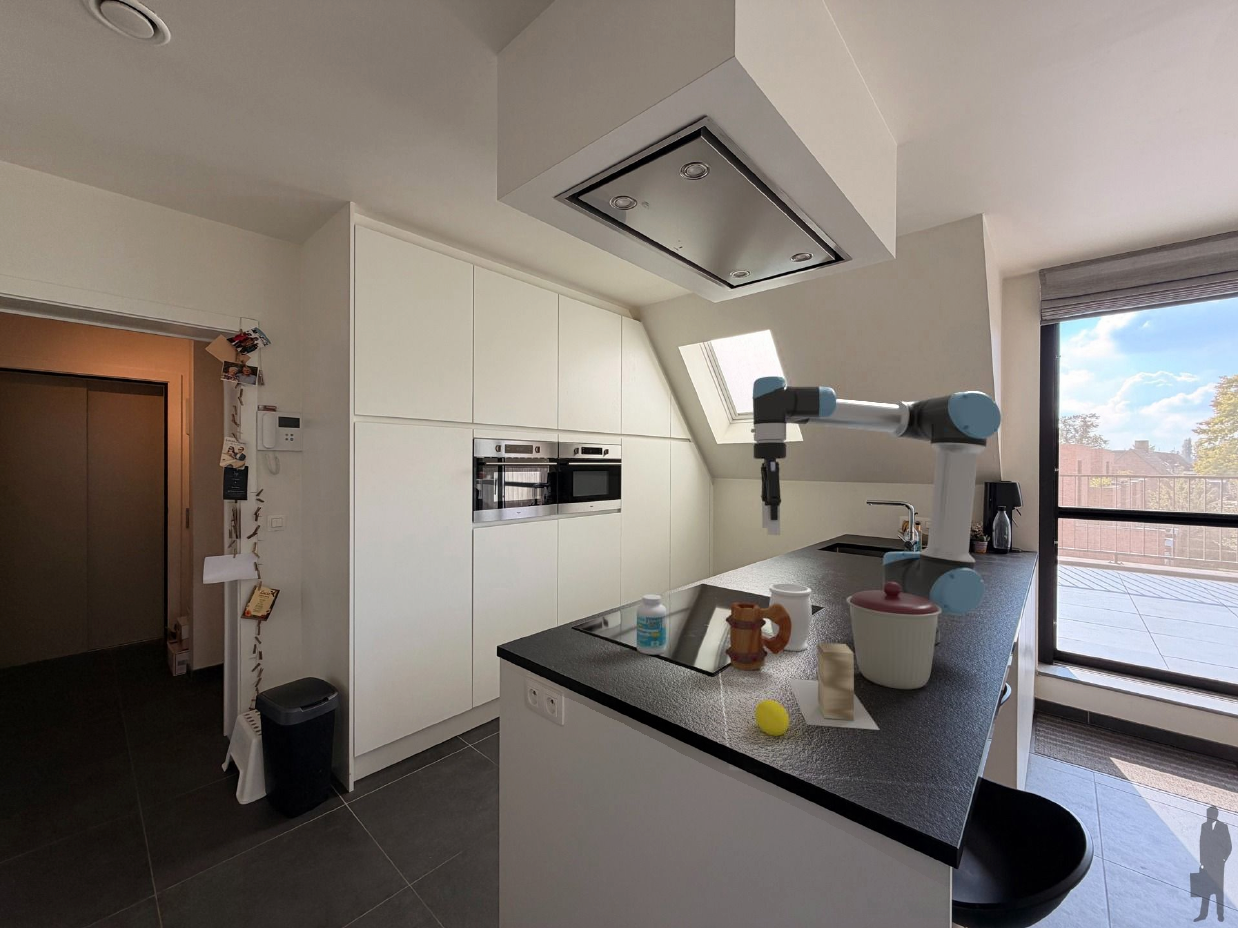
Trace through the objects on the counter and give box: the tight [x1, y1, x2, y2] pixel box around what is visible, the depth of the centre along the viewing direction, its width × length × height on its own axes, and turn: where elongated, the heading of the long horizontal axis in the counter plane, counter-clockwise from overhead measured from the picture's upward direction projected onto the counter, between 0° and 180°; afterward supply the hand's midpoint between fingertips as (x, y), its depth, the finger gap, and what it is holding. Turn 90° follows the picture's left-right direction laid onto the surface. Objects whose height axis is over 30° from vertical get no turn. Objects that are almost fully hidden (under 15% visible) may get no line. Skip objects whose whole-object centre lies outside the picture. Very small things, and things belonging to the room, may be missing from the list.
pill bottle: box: [636, 594, 667, 656], centre depth 129 cm, size 8×7×14 cm
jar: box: [768, 583, 813, 652], centre depth 132 cm, size 11×10×15 cm
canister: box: [846, 582, 942, 690], centre depth 111 cm, size 18×18×21 cm
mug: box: [724, 602, 792, 671], centre depth 117 cm, size 15×8×15 cm, turn 70°
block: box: [817, 642, 855, 721], centre depth 94 cm, size 5×5×12 cm
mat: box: [787, 678, 881, 731], centre depth 99 cm, size 12×20×1 cm, turn 171°
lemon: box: [754, 699, 790, 737], centre depth 88 cm, size 7×5×5 cm
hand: (770, 531), depth 123 cm, fingers open, 13 cm apart
